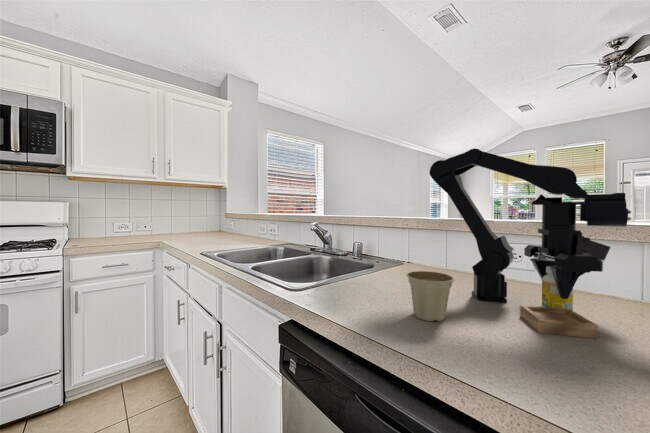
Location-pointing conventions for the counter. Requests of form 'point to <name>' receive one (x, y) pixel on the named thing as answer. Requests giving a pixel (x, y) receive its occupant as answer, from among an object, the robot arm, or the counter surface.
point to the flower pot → (430, 294)
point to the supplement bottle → (554, 293)
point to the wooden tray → (558, 321)
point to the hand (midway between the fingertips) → (557, 294)
